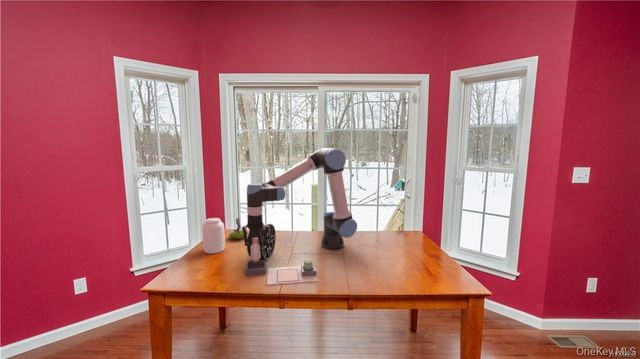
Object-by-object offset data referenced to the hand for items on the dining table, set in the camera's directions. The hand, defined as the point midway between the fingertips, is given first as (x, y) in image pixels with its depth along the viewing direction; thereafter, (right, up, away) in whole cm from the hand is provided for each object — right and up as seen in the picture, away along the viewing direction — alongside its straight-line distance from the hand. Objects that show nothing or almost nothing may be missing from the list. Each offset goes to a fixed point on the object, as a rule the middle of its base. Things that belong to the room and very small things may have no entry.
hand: (255, 257), depth 140 cm
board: (+19, -7, -4) cm, 21 cm away
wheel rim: (0, -5, +18) cm, 18 cm away
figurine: (-24, -1, +50) cm, 55 cm away
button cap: (+28, -5, -3) cm, 28 cm away
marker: (0, -2, 0) cm, 2 cm away
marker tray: (0, -7, +1) cm, 7 cm away
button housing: (+28, -7, -3) cm, 29 cm away
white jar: (-33, -3, +28) cm, 43 cm away
